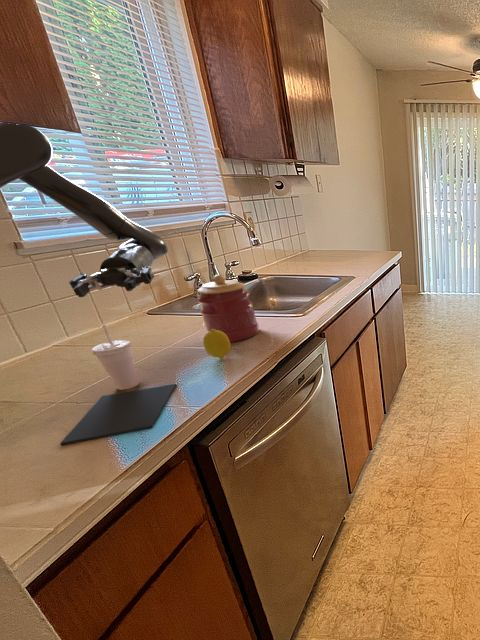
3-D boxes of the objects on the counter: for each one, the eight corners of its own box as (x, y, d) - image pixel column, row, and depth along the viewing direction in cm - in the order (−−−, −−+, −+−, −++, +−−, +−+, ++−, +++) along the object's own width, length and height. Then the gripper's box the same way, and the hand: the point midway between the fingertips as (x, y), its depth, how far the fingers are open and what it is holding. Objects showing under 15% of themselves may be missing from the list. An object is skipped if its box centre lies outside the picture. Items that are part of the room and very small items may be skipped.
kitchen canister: (198, 342, 112) (177, 279, 104) (232, 326, 123) (215, 269, 116) (238, 344, 110) (220, 281, 102) (269, 328, 121) (255, 270, 114)
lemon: (223, 364, 98) (214, 333, 95) (203, 362, 99) (193, 332, 96) (239, 355, 103) (230, 325, 100) (220, 353, 104) (211, 325, 101)
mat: (61, 445, 68) (59, 443, 68) (103, 397, 83) (102, 395, 83) (152, 428, 73) (151, 425, 73) (176, 385, 88) (176, 383, 88)
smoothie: (150, 377, 92) (127, 319, 86) (140, 389, 87) (115, 328, 81) (116, 381, 90) (90, 323, 84) (104, 395, 85) (75, 333, 79)
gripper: (82, 255, 95) (51, 278, 82) (153, 248, 100) (134, 268, 87) (98, 285, 99) (71, 311, 86) (166, 277, 104) (149, 300, 91)
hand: (103, 290), depth 87 cm, fingers open, 8 cm apart
